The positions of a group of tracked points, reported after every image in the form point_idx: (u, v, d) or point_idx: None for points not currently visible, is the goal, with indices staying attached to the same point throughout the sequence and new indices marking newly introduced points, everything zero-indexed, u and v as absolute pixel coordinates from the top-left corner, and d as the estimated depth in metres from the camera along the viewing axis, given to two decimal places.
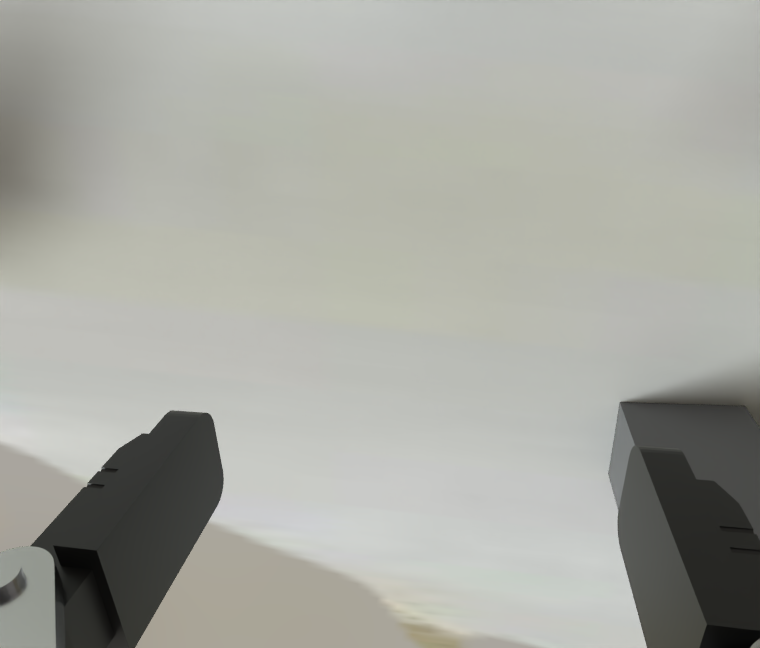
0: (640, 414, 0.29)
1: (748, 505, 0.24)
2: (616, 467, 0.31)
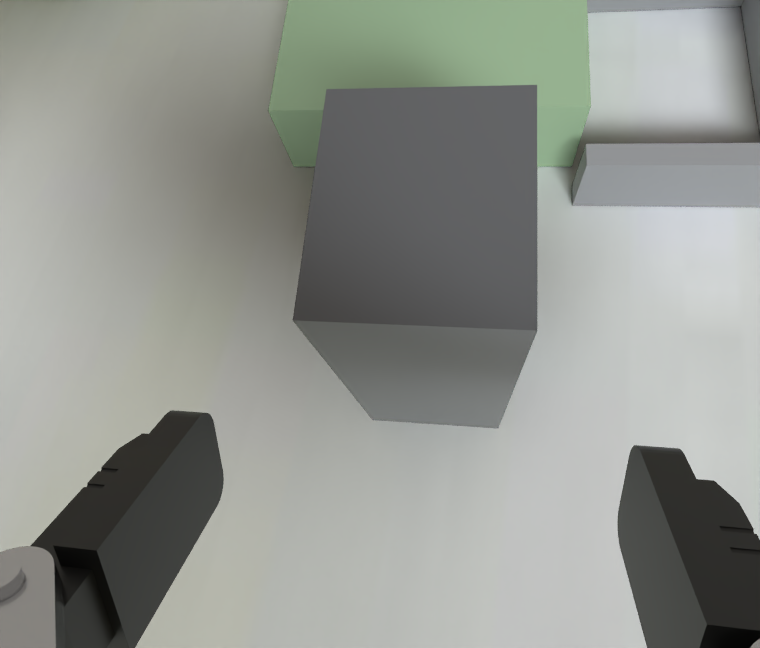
0: None
1: None
2: (457, 420, 0.22)
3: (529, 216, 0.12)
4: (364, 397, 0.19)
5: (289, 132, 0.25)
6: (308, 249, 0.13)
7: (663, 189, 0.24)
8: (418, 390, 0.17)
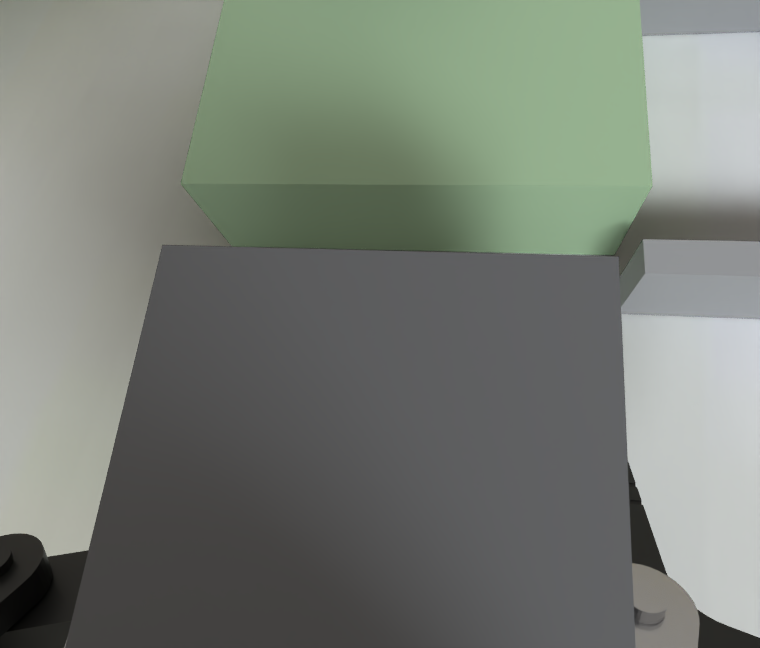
0: None
1: None
2: None
3: (614, 631, 0.05)
4: None
5: (216, 209, 0.18)
6: None
7: (754, 301, 0.16)
8: None
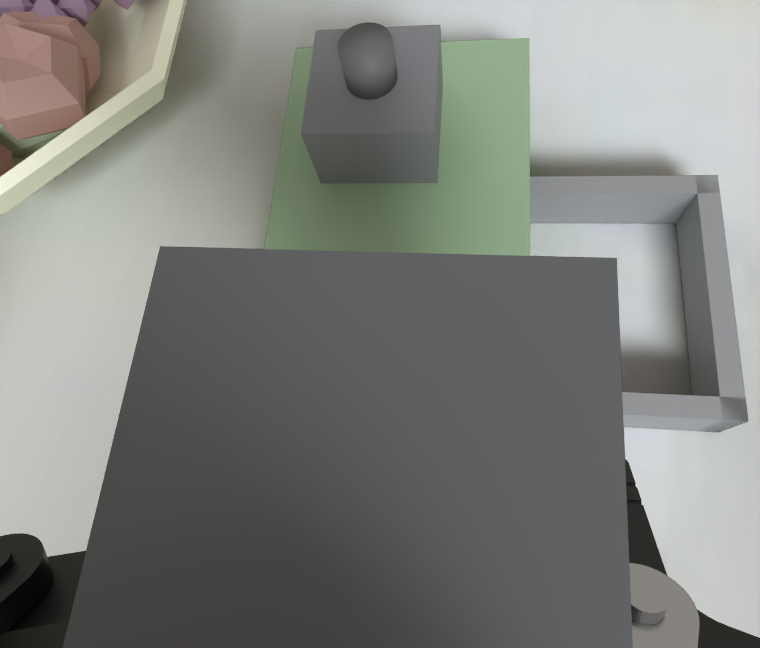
0: None
1: None
2: None
3: (612, 633, 0.05)
4: None
5: None
6: None
7: None
8: None
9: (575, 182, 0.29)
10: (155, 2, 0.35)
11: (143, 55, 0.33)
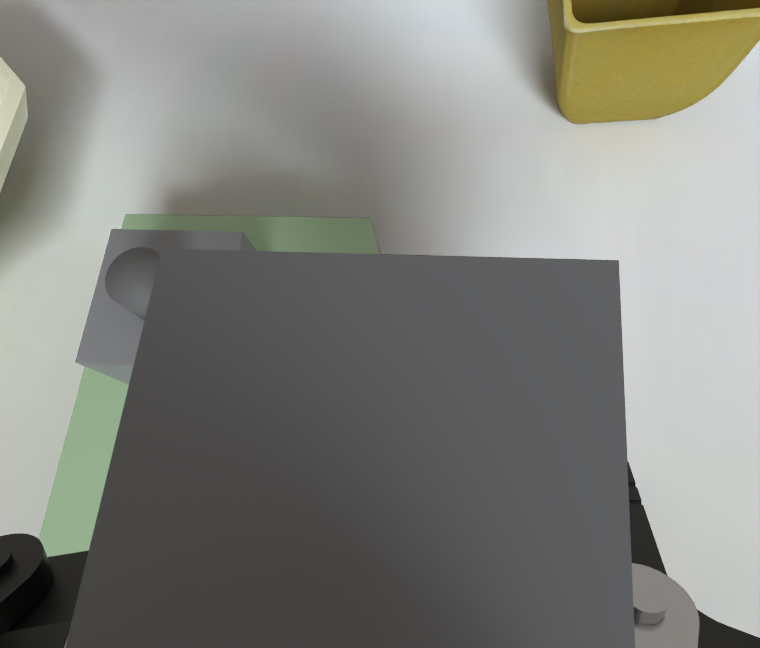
0: None
1: None
2: None
3: (614, 637, 0.05)
4: None
5: None
6: None
7: None
8: None
9: None
10: None
11: None
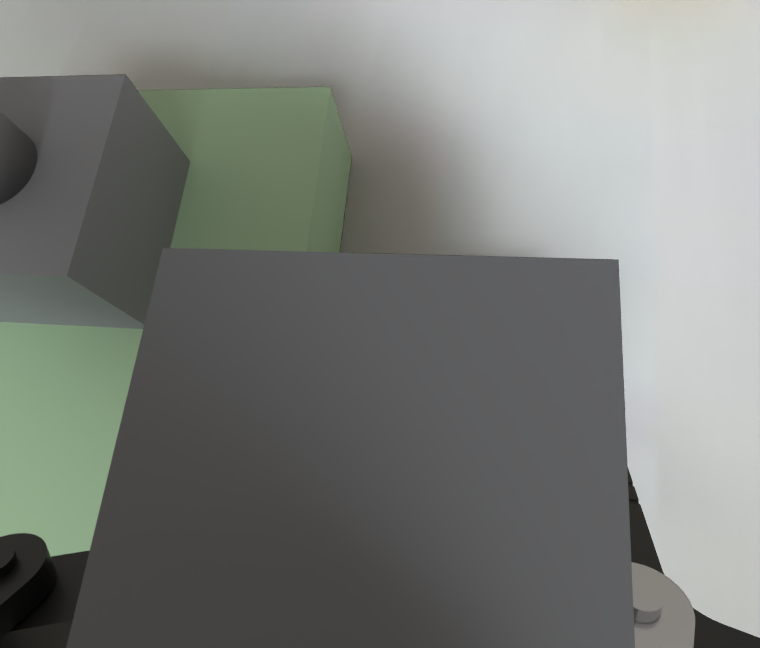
0: None
1: None
2: None
3: (614, 634, 0.05)
4: None
5: None
6: None
7: None
8: None
9: None
10: None
11: None
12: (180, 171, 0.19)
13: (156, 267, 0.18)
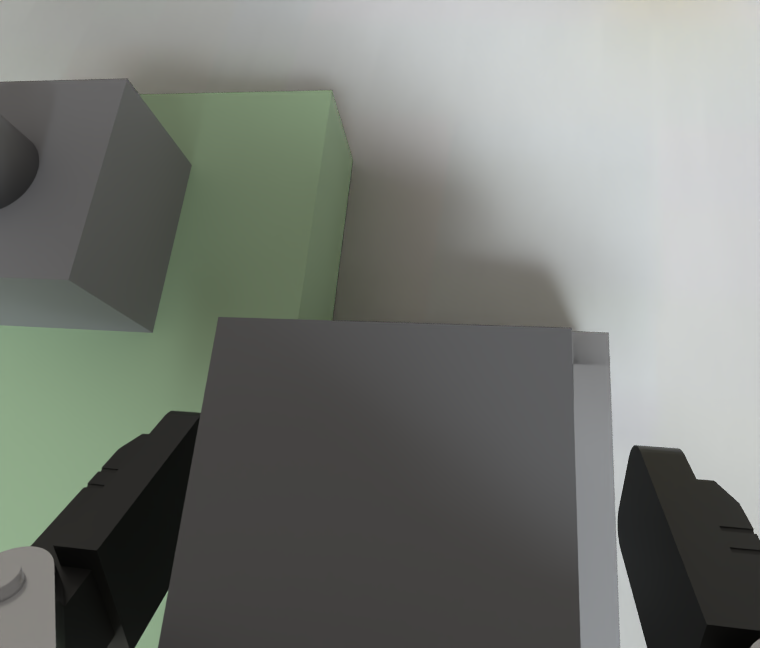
0: None
1: None
2: None
3: (565, 610, 0.07)
4: None
5: None
6: None
7: None
8: None
9: None
10: None
11: None
12: (181, 175, 0.19)
13: (157, 270, 0.18)
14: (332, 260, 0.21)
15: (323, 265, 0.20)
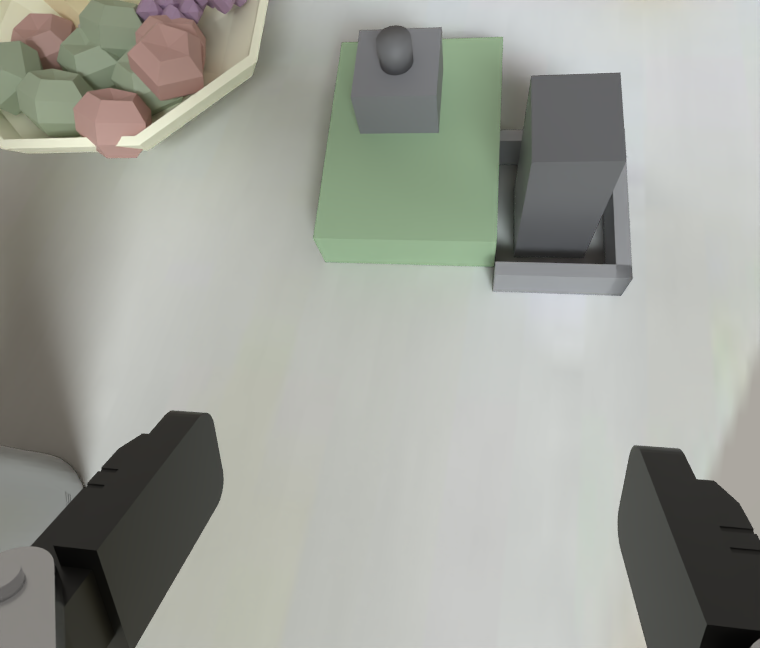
0: (515, 241, 0.43)
1: (522, 162, 0.38)
2: (563, 250, 0.42)
3: (620, 122, 0.32)
4: (524, 228, 0.39)
5: (324, 247, 0.43)
6: (533, 137, 0.33)
7: (542, 285, 0.41)
8: (557, 217, 0.37)
9: None
10: (241, 9, 0.50)
11: (235, 46, 0.48)
12: (442, 71, 0.44)
13: None
14: None
15: None
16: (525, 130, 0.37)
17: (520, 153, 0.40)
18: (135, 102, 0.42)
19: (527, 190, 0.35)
